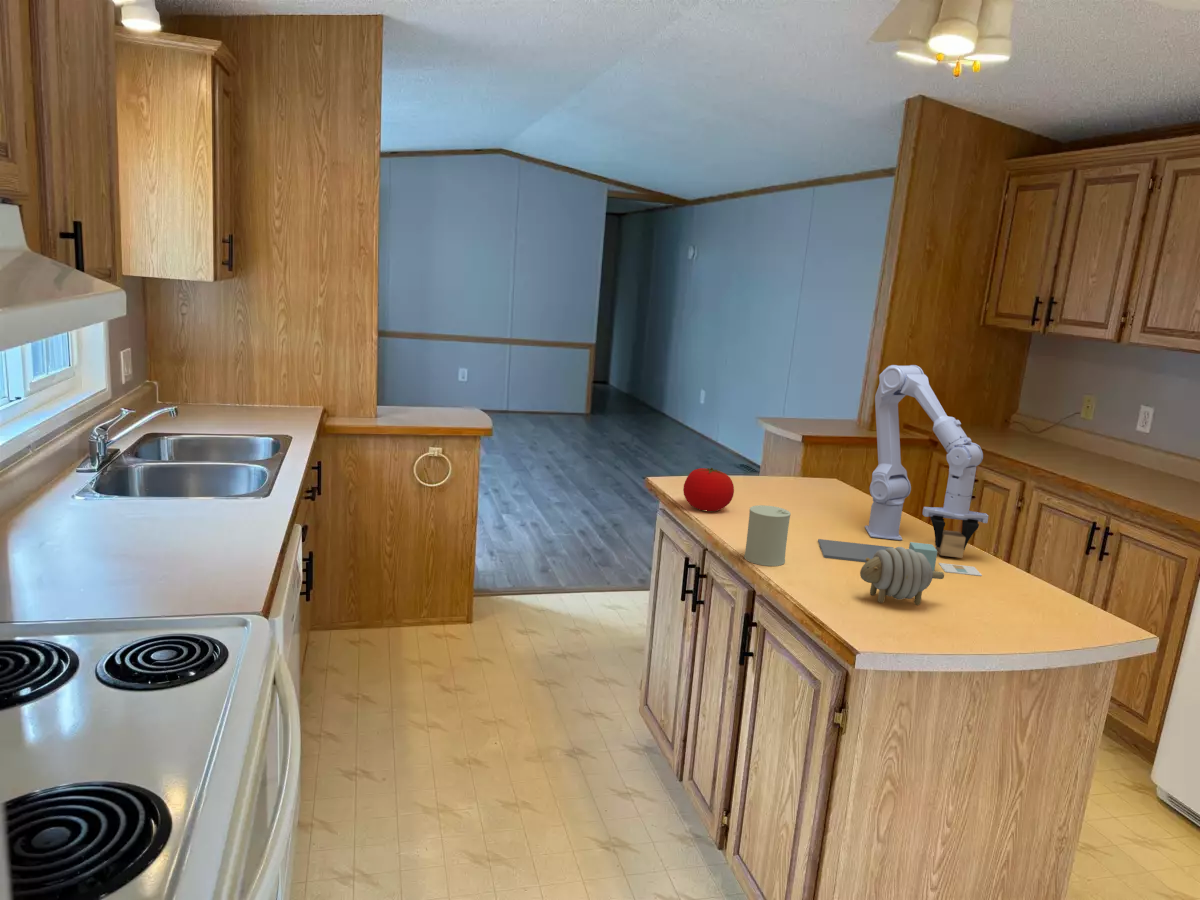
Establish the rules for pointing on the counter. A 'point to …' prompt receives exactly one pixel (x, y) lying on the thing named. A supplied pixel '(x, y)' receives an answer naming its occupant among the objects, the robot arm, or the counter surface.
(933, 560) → the teal block
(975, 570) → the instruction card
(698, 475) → the tomato
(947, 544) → the brown wooden cube
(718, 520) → the counter surface
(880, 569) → the toy sheep
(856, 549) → the baseplate
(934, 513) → the robot arm
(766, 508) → the can
